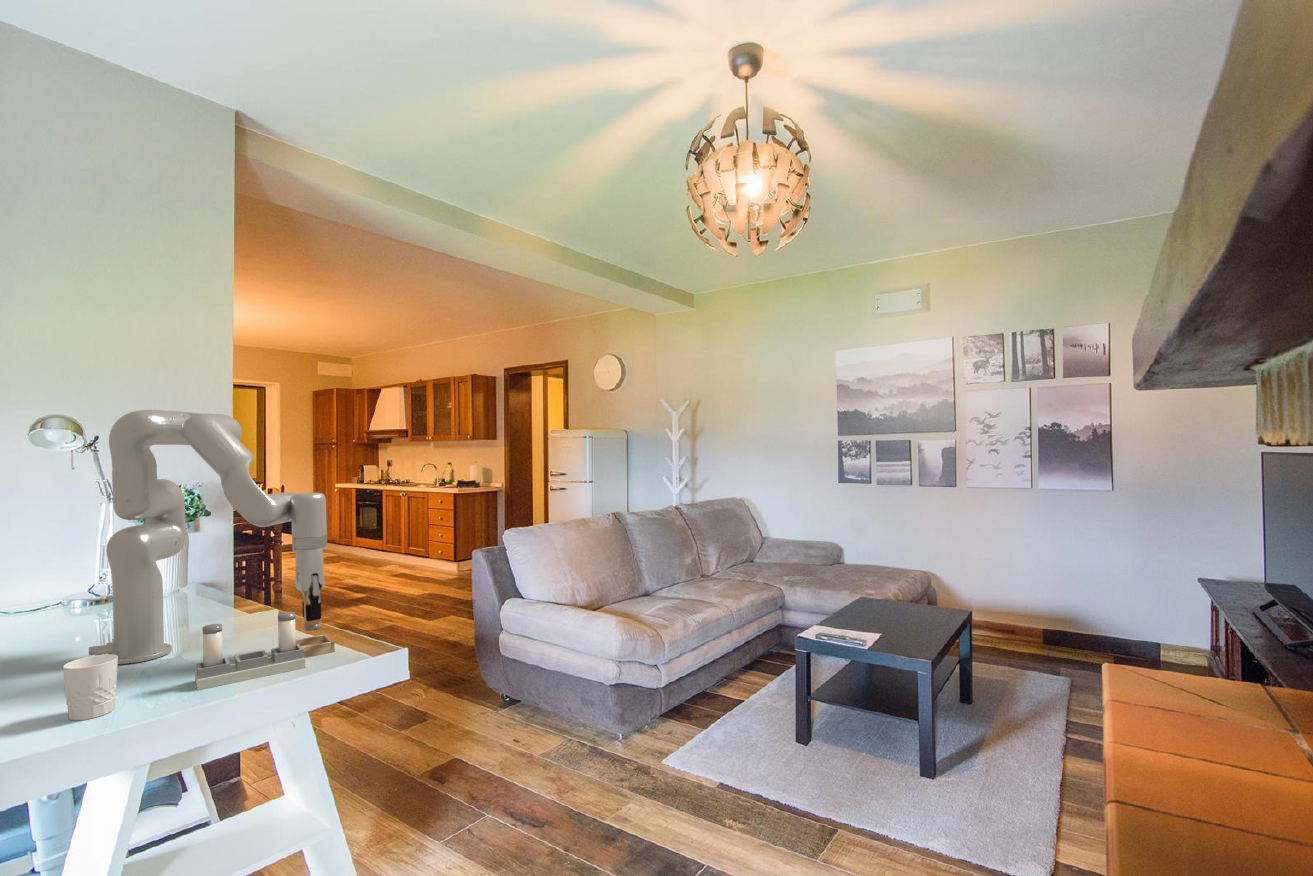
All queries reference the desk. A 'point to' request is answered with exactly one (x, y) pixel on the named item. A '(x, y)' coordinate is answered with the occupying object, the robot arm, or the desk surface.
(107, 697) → the white cup
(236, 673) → the fuse holder
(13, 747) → the desk surface
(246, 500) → the robot arm
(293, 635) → the cylinder
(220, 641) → the cylinder
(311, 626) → the cylinder
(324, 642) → the tray
